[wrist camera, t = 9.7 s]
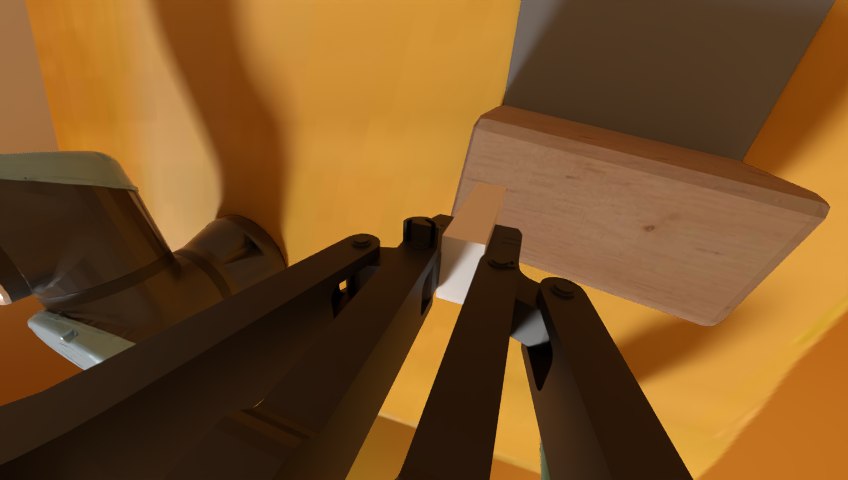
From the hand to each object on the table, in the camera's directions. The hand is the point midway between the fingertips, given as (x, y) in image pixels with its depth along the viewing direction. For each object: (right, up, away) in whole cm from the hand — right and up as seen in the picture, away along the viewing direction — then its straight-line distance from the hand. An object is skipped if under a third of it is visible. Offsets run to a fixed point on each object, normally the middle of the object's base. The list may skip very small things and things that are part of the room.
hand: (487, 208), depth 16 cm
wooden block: (+1, +5, +10) cm, 11 cm away
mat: (+13, +7, +10) cm, 18 cm away
